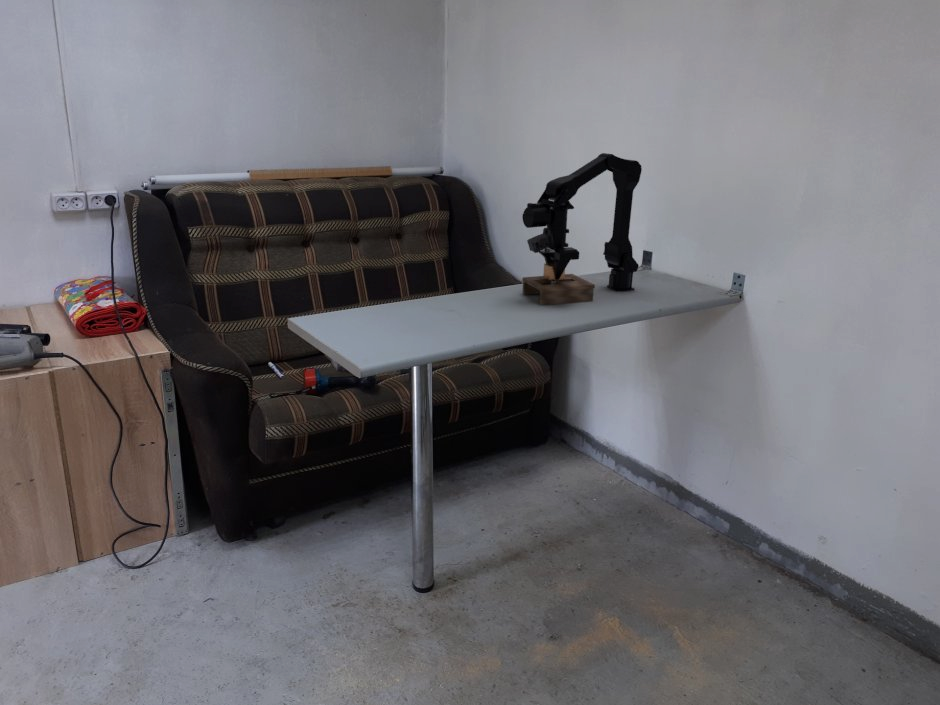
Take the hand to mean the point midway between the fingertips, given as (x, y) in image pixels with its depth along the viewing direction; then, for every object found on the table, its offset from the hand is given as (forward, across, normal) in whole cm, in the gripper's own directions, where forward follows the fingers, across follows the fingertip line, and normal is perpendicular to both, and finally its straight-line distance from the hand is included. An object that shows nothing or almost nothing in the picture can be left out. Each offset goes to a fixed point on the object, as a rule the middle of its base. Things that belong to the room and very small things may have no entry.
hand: (554, 277), depth 213 cm
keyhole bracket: (+6, 0, +2) cm, 6 cm away
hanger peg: (+4, 0, 0) cm, 4 cm away
